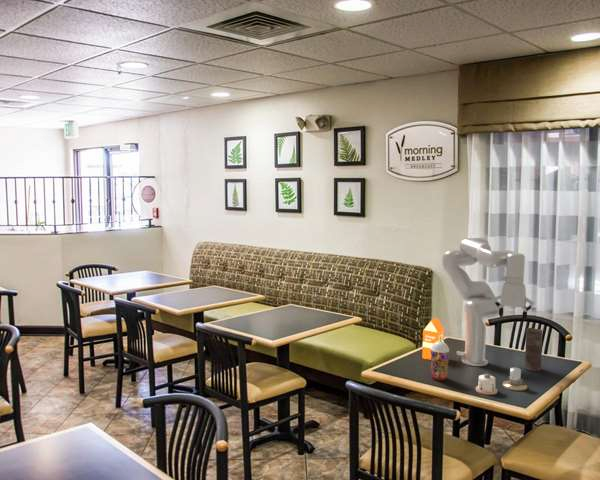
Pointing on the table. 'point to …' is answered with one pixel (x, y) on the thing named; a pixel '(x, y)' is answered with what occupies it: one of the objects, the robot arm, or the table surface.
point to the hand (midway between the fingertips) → (512, 318)
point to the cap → (486, 382)
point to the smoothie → (439, 360)
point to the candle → (533, 349)
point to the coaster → (486, 391)
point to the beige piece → (515, 380)
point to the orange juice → (431, 337)
